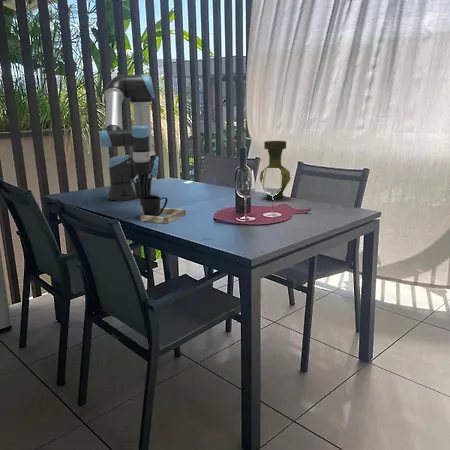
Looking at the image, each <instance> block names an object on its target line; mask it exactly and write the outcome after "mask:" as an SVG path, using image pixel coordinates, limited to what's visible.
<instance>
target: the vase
mask: <svg viewBox="0 0 450 450" xmlns="http://www.w3.org/2000/svg"><path fill="white" fill-rule="evenodd" d="M263 143H264V145H263V146H264V147H263V148H264V150H267V152H268V160H269V161H268V164H269V165H267V166H266V167H265V168H264V169H262V170H261V171H260V175H259V181H260V183H261V184H262V179H263V173H264V170H265V169H266V168H279V169H280V170H281V175H282V188H281V191H280V192H279V193H278V194H277V195H275V196H274V197H273V198H274V200H279V201H282V200H281V199H283V198H284V191H285V189H286V188H287V186H288V184H289V183H290V181H291V174H290V170H289V169H287V168H286V167H284V166H283V165H282V155H283V154H282V153H283V150H285V149H287V141H286V140H266V141H264V142H263ZM265 199H266V201H271V200H272V196H270V195H268V194H267V193H266V198H265ZM283 200H284V199H283Z"/></svg>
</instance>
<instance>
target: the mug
mask: <svg viewBox="0 0 450 450" xmlns="http://www.w3.org/2000/svg"><path fill="white" fill-rule="evenodd" d="M164 199H165V200H164ZM161 200H164V204H163V205H162V209H161V211H160V212H159V210H160V207H161ZM167 204H168V198H167V197H166V196H165V197H160V196H158V195H152V194H150V196H143V197H142V209H143V215H148V216H159V217H160V215H162V214H163V213H162V211H163V210H164V208H166V206H167Z"/></svg>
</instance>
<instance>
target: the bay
mask: <svg viewBox="0 0 450 450" xmlns="http://www.w3.org/2000/svg"><path fill="white" fill-rule="evenodd" d="M162 208H163V206H162V207H161V206H160V210H159V212H160V211H161V209H162ZM186 213H187V210H186V209H183V208H172V207H171V208H170V207H165V208H164V210H163V211H162V213H161V214H165V215H167V216H160V215H159V216H148V215H144V214H141V215H140V219H139V220H140V222H144V221H148V222H147V223H154V222H155V224H166V225H167V224H169V223H172V222H173V221H176V220H178V219H180V218H182V217H184V216H186Z"/></svg>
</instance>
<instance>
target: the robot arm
mask: <svg viewBox="0 0 450 450" xmlns="http://www.w3.org/2000/svg"><path fill="white" fill-rule="evenodd" d="M103 98H104V99H105V117H104V118H105V122H104V124H105V125H104V130H103V129H102V130H100V132H99V140H100V145H101V146H102V147H103V148H117V147H118V148H119V147H132V157H131V156H130V154H123V155H116V156H112V157H110V158H109V159H108V171H109V183H110V185H109V191H108V193H107V195H108V196H107V198H108V200H109V199H110V200H109V201H112V200H115V201H114V202H124V200H126V201H132V200H134V199H138V200H139V201H140V213H143V209H142V197H143V196H150V195H151V192H152V190H151V189H152V182H153V181H152V180H153V179H155V178H156V177H158V171H159V156H158V155H157V154H156V152H155V151H154V149H153V138H152V135H153V134H152V124H151V123H152V121H151V120H152V119H151V108H150V107H151V106H150V105H151V104H152V103H153V99H154V98H156V96H155V91H154V86H153V80H152V76H150V75H149V74H119V75H116V76H115V77H113V78H111V80H109V81H108V82H107V84H106V86H105V88H104V92H103ZM124 99H126V100H127V99H129V103H130V104H131V105H132V108H133V123H134V125H133V126H132V127H131V129H122V126H123V125H122V122H123V121H122V119H123V118H122V114H123V113H122V112H123V111H122V109H123V108H122V105H123V104H122V103H123V101H124ZM156 155H157V156H156ZM143 214H144V213H143Z"/></svg>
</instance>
